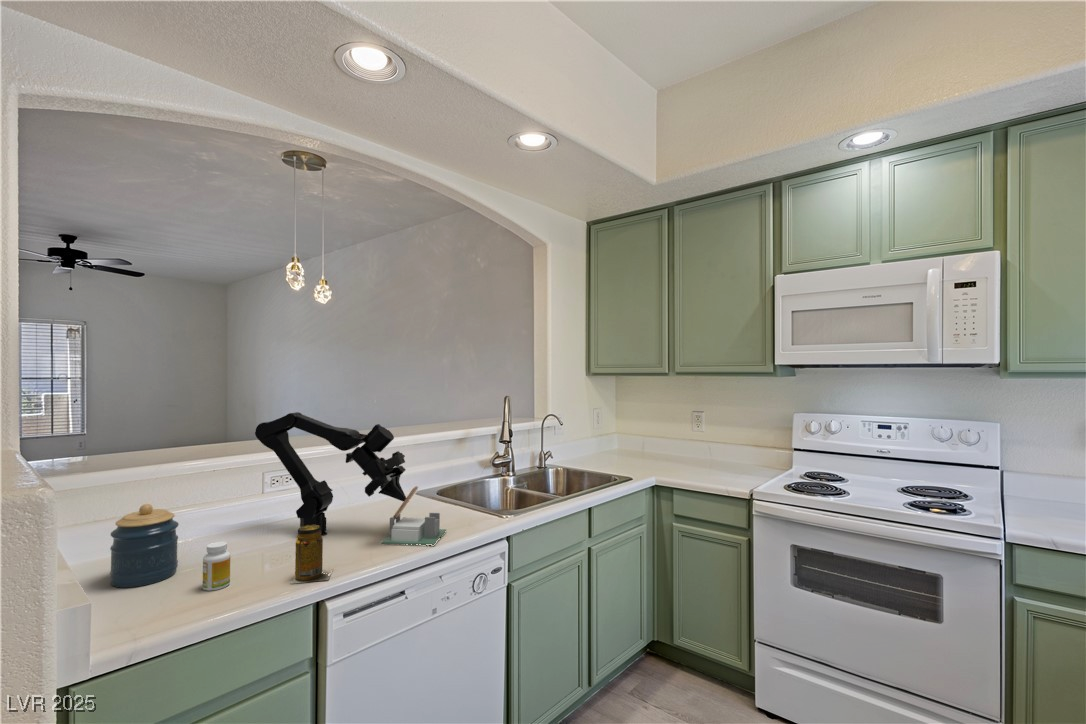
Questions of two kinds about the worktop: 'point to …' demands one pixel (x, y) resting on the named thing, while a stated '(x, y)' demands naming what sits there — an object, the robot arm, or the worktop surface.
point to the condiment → (309, 555)
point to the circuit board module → (415, 530)
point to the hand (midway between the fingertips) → (405, 500)
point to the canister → (144, 548)
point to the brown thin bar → (405, 502)
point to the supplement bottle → (216, 567)
